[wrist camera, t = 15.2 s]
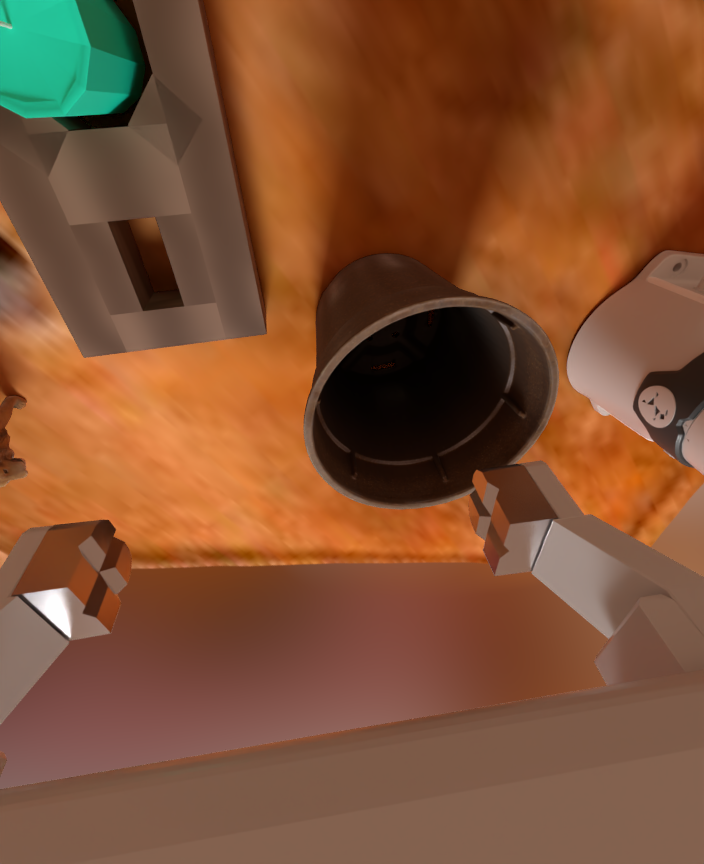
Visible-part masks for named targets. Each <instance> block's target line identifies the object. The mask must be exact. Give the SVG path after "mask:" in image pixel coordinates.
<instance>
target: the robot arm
mask: <svg viewBox="0 0 704 864" xmlns="http://www.w3.org/2000/svg"><path fill="white" fill-rule="evenodd" d="M567 374H568V378H569V381H570V383H571V385H572V386H573V387H574V389H575V390H577V391H578V392H579V393H581V394H583V395H584V396H586V397H588V398H589V399H590V401H591V403H592V406H593V408H594V409H595V410H596V411H597V412H598V413H600V414H601V415H610V414H611V415H612V416H614V417H615V418H616V419H618V420H619V421H621V422H622V423H624V424H625V425H626V426H628V427H629V428H631V429H632V430H634V431H635V432H637V433H638V434H640V435H641V436H643V437H644V438H646V439H647V440H650V441H654V442H656V443H657V444H658V445H659V446H660V447H662V448H663V449H664V450H663V451H664V452H666V453H667V454H668V455H669V456H671V457H672V458H674V459H677V460H678V461H679V462H680V463H682V464H684V465H685V466H688V467H692V468H696V469H697V470H698V471H699V472H700V473H702V474H703V475H704V254H698V253H690V252H681V251H673V250H666V251H663V252H661V253H660V254H658V255H657V256H656V257H655V258H654V259H653V260H652V261H651V262H650V263H649V264H648V265H647V266H646V267H645V268H644V269H643V270H642V271H641V273H640V274H639V275H638V276H637V277H636V278H635V279H634V280H633V281H631V282H630V283H629V284H627V285H626V286H625V287H623V288H622V289H620V290H619V291H617V292H616V293H614V294H613V295H612V296H610V297H609V298H608V299H607V300H605V301H604V302H603V303H602V304H601V305H600V306H599V307H598V308H597V309H596V310H595V311H594V312H593V313H592V314H591V315H590V317H589V318H588V319H587V320H586V322H585V323H584V324H583V326H582V327H581V329H580V330H579V332H578V334H577V336H576V337H575V339H574V341H573V344H572V346H571V349H570V352H569V356H568V361H567ZM472 482H473V484H474V486H475V488H476V489H475V490H474V491H473V492H472V493H471V494H470V496H469V503H468V507H469V516H470V520H471V523H472V526H473V528H474V531H475V533H476V534H477V535H478V536H479V537H481V538H482V539H484V540H485V544H484V549H483V551H484V553H485V556H486V558H487V560H488V562H489V564H490V567H491V569H492V571H493V573H494V576H498V575H506V574H514V573H522V572H530V571H532V574H533V575H534V576H535V577H537V578H538V579H539V580H540V581H542V583H544V584H545V585H546V586H547V587H548V588H549V589H551V590H552V591H553V592H554V593H555V594H557V595H558V596H559V597H560V598H561V599H562V600H564V601H565V602H566V603H567V604H568V605H569V606H571V607H572V608H573V609H574V610H576V611H577V612H578V613H579V614H580V615H581V616H582V617H584V618H585V619H586V620H587V621H588V622H589V623H591V624H592V625H593V626H594V627H595V628H597V629H598V630H599V631H600V632H601V633H602V634H604V635H605V636H606V637H607V638H609V640H608V641H607V642H606V644H605V645H604V646H603V648H602V649H601V650H600V651H599V653H598V654H597V656H596V659H595V664H596V666H597V667H598V670H599V671H600V673H601V675H602V677H603V679H604V681H605V682H606V684H607V686H603V687H597V688H591V689H585V690H579V691H573V692H568V693H562V694H556V695H550V696H544V697H538V698H532V699H527V700H521V701H515V702H510V703H503V704H497V705H491V706H486V707H480V708H474V709H468V710H462V711H456V712H451V713H445V714H438V715H432V716H427V717H421V718H415V719H409V720H403V721H397V722H391V723H385V724H380V725H374V726H368V727H362V728H356V729H350V730H345V731H339V732H333V733H327V734H321V735H316V736H310V737H303V738H297V739H292V740H286V741H280V742H274V743H269V744H262V745H256V746H250V747H245V748H239V749H233V750H227V751H221V752H216V753H210V754H204V755H198V756H192V757H186V758H180V759H174V760H168V761H162V762H157V763H151V764H145V765H139V766H133V767H128V768H121V769H115V770H110V771H104V772H98V773H92V774H86V775H80V776H75V777H69V778H63V779H57V780H51V781H45V782H39V783H34V784H27V785H22V786H16V787H10V788H4V789H0V864H704V577H703V576H701V575H699V574H697V573H696V572H694V571H692V570H690V569H688V568H686V567H685V566H683V565H681V564H679V563H677V562H676V561H674V560H672V559H670V558H669V557H667V556H665V555H663V554H661V553H659V552H658V551H656V550H654V549H652V548H651V547H649V546H647V545H645V544H643V543H642V542H640V541H638V540H636V539H634V538H633V537H631V536H629V535H627V534H625V533H624V532H622V531H620V530H618V529H616V528H615V527H613V526H611V525H609V524H607V523H606V522H604V521H602V520H600V519H599V518H597V517H595V516H593V515H591V514H590V515H584V514H583V513H582V511H581V510H580V508H579V507H578V506H577V504H576V503H575V502H574V500H573V499H572V498H571V496H570V495H569V494H568V492H567V491H566V490H565V488H564V487H563V486H562V484H561V483H560V481H559V480H558V479H557V477H556V476H555V475H554V473H553V472H552V471H551V469H550V468H549V467H548V465H547V464H546V463H545V462H543V461H535V462H528V463H520V464H512V465H505V466H498V467H491V468H484V469H478V470H476V471H475V473H474V475H473V480H472ZM115 531H116V529H115V528H114V526H113V525H112V524H111V522H110V521H109V520H96V521H87V522H78V523H69V524H59V525H53V526H44V527H35V528H30V529H28V530H27V531H26V532H24V533H23V534H22V535H21V537H20V538H19V540H18V541H17V543H16V545H15V546H14V548H13V549H12V551H11V553H10V554H9V556H8V557H7V559H6V561H5V562H4V564H3V566H2V567H1V569H0V725H1V723H2V722H3V721H4V720H5V719H6V717H7V716H8V715H9V714H10V713H11V712H12V710H13V709H14V708H15V707H16V706H17V704H18V703H19V702H20V701H21V700H22V698H23V697H24V696H25V695H26V694H27V692H28V691H29V690H30V689H31V688H32V686H33V685H34V684H35V683H36V682H37V681H38V679H39V678H40V677H41V676H42V675H43V674H44V672H45V671H46V670H47V669H48V668H49V666H50V665H51V664H52V663H53V662H54V660H55V659H56V658H57V657H58V656H59V654H60V653H61V652H62V651H63V650H64V649H65V648H66V646H67V645H68V644H69V642H68V641H70V640H76V639H82V638H87V637H93V636H99V635H104V634H110V633H111V632H112V629H113V626H114V623H115V620H116V616H117V614H118V611H119V607H120V605H121V602H120V600H119V598H118V595H117V594H118V593H119V591H121V590H122V589H123V588H124V587H125V586H126V585H127V583H128V580H129V577H130V574H131V562H132V558H131V554H130V551H129V548H128V547H127V545H126V544H125V542H123V541H121V540H119V539H117V538H115V537H113V536H114V533H115ZM6 761H7V758H6V756H5V754H4V753H3V752H1V751H0V776H1V774H2V771H3V769H4V766H5V764H6Z"/></svg>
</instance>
